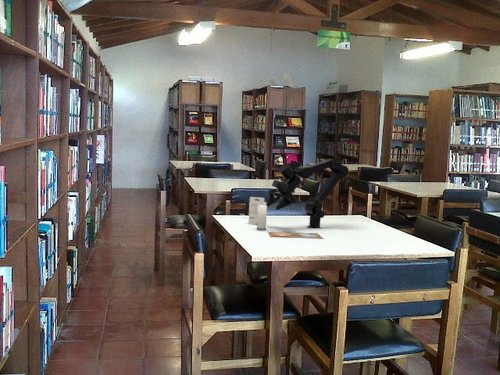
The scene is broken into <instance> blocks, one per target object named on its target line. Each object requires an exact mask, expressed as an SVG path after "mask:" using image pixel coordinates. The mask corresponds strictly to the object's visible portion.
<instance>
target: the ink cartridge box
mask: <svg viewBox="0 0 500 375" xmlns="http://www.w3.org/2000/svg"><path fill="white" fill-rule="evenodd" d="M266 204H267V202H265V197H257V196H250V197H249V205H248V206H249V207H248V221H247V222H248V225H254V226H255V225H256V226H257V217H258V205H266Z"/></svg>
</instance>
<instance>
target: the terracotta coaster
mask: <svg viewBox="0 0 500 375" xmlns="http://www.w3.org/2000/svg"><path fill="white" fill-rule="evenodd" d="M273 232H274V233H272V235H274V236H280V237H288V236H291V234H290V233H285V232H286V231H285V232H284V231H283V232H282V231H273Z"/></svg>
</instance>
